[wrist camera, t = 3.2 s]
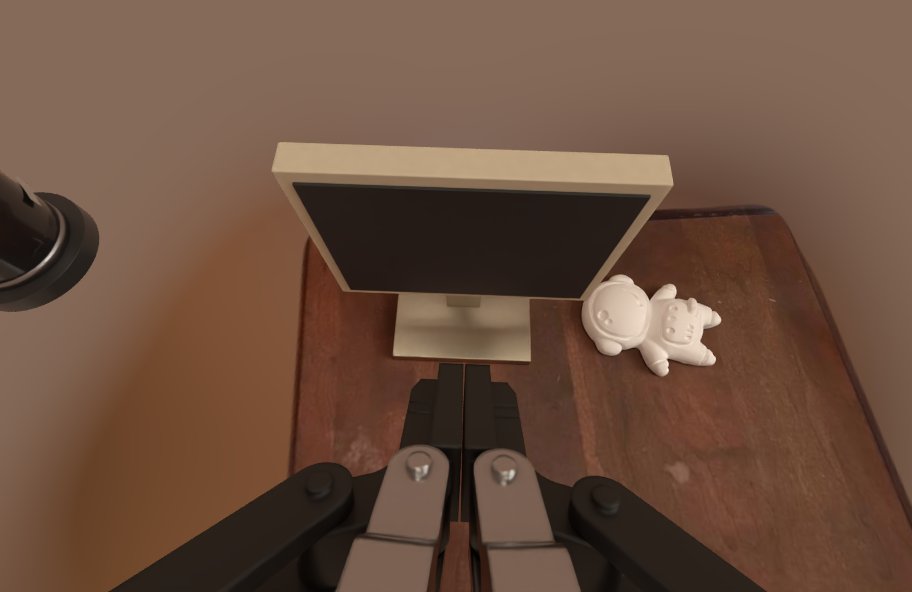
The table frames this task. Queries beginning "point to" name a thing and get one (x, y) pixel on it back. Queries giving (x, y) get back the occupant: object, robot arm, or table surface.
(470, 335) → the monitor stand
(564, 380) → the table surface
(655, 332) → the astronaut figurine
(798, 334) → the table surface
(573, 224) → the monitor screen
